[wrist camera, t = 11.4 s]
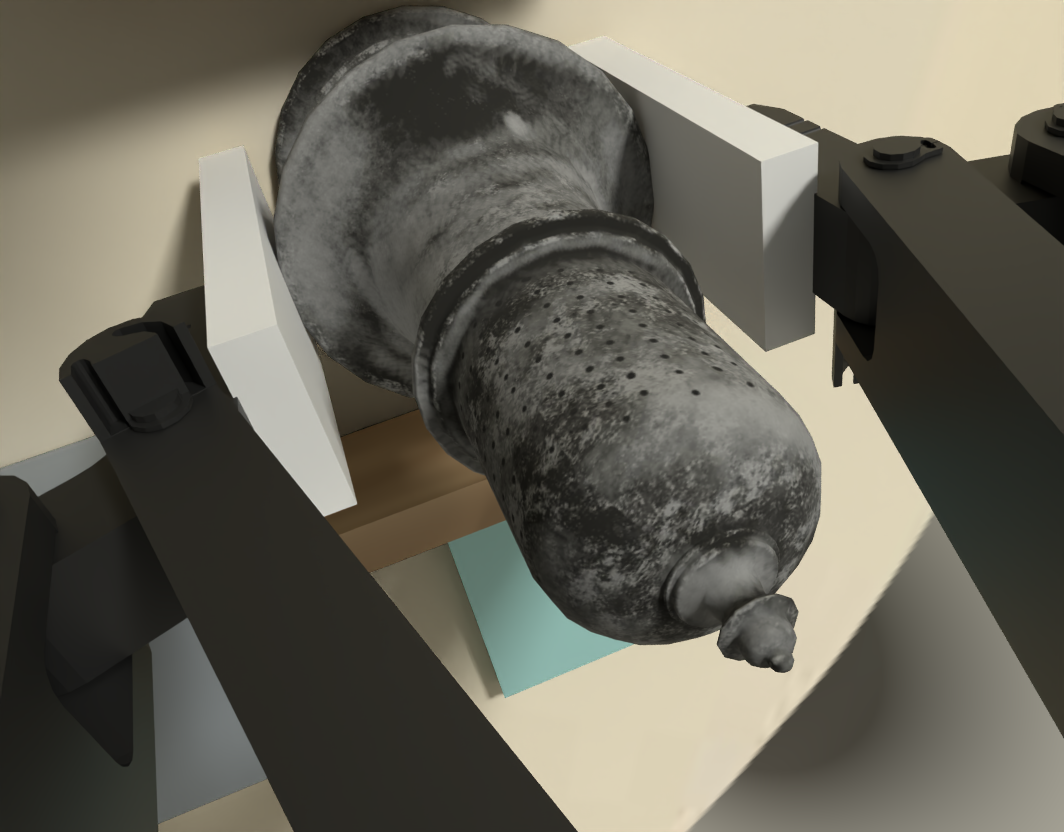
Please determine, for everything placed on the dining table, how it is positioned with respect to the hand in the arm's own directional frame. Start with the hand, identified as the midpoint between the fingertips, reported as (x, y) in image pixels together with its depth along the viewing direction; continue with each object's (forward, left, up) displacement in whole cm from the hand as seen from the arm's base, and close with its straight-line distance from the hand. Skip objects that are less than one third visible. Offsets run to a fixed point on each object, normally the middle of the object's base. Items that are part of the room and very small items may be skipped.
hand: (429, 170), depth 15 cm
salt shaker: (0, 0, -1) cm, 1 cm away
